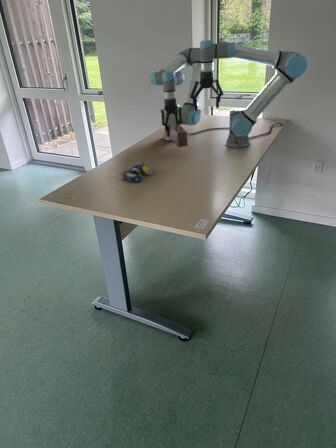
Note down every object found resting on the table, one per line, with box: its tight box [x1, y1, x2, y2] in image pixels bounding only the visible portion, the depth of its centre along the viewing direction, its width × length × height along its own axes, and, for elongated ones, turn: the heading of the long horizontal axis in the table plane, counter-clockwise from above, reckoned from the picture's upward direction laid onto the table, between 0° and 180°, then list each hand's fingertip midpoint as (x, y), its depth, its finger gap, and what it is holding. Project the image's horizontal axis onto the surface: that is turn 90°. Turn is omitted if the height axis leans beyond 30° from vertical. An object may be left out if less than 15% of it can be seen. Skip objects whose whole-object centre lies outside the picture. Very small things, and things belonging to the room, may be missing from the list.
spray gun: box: [120, 162, 154, 183], centre depth 191 cm, size 21×4×15 cm
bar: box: [167, 121, 189, 148], centre depth 210 cm, size 28×6×9 cm, turn 14°
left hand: (172, 134), depth 220 cm, fingers closed on bar, 6 cm apart
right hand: (206, 109), depth 202 cm, fingers open, 13 cm apart
